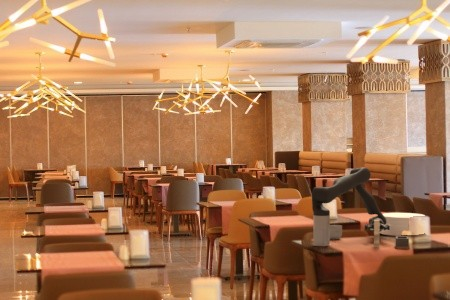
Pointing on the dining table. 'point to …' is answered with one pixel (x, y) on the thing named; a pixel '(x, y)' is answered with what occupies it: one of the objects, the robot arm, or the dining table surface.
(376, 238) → the slat
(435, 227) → the dining table surface
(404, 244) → the dark grey block
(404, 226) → the plate stack
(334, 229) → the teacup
